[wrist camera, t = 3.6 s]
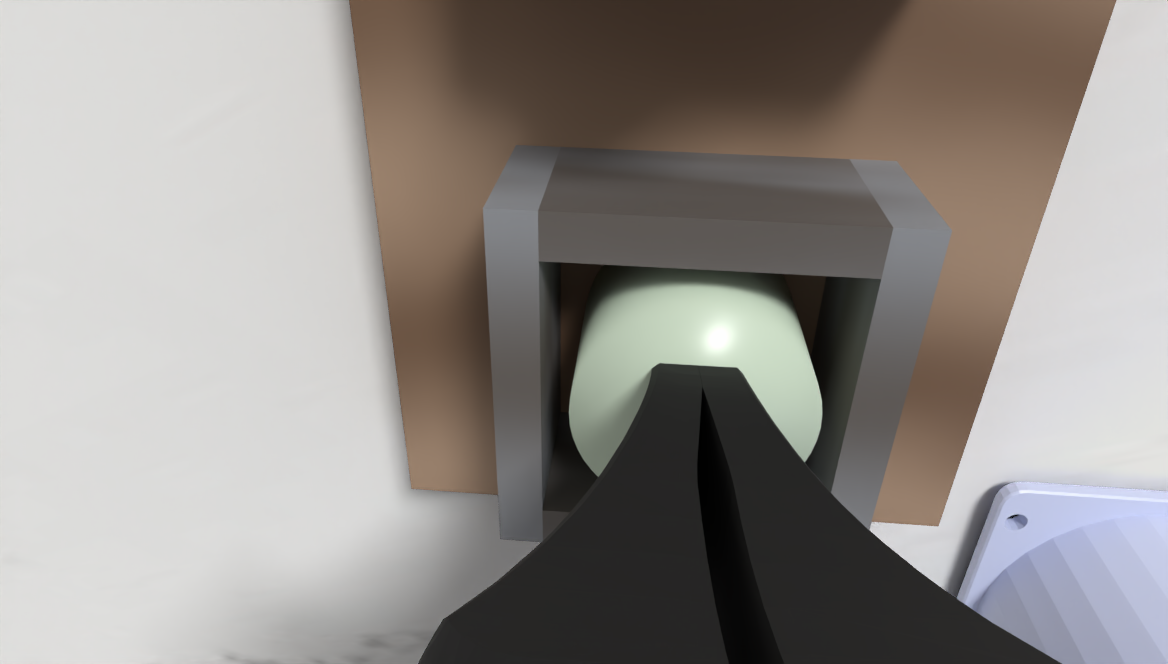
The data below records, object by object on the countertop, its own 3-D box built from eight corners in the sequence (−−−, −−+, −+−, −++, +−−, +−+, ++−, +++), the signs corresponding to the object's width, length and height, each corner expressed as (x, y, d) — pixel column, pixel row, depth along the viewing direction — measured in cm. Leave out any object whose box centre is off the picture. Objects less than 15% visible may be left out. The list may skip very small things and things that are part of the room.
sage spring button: (777, 410, 16) (800, 521, 13) (583, 397, 16) (568, 504, 14) (808, 230, 14) (844, 318, 11) (587, 220, 14) (569, 302, 12)
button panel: (913, 467, 19) (985, 639, 15) (432, 435, 20) (370, 590, 16) (1316, -873, 9) (1910, -1544, 5) (300, -833, 10) (18, -1379, 5)
